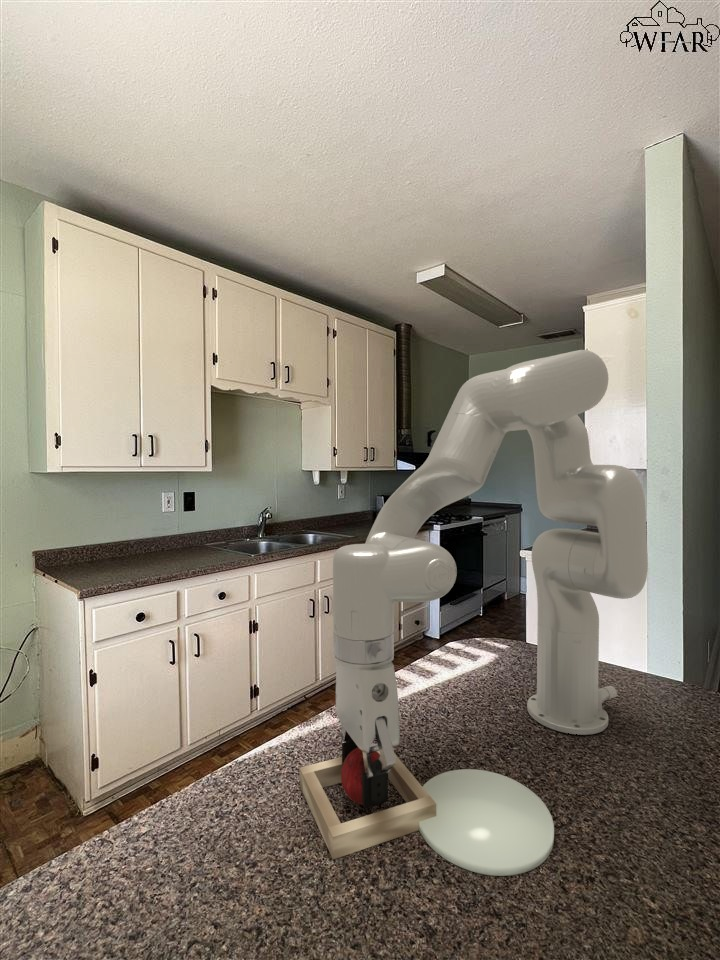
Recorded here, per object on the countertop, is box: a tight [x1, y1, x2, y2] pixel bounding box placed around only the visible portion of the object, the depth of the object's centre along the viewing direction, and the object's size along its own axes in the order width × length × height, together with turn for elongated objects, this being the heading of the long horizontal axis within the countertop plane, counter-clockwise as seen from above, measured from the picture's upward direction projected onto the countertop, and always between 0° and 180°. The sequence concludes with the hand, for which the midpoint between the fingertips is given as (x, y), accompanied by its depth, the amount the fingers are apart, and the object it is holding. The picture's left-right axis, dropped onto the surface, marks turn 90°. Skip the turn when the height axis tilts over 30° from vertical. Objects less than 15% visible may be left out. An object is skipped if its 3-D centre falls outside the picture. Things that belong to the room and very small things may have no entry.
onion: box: [341, 747, 380, 806], centre depth 61 cm, size 6×6×8 cm
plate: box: [418, 768, 555, 877], centre depth 58 cm, size 16×16×1 cm
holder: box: [299, 751, 436, 860], centre depth 61 cm, size 13×13×2 cm
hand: (364, 785), depth 61 cm, fingers closed on onion, 5 cm apart
